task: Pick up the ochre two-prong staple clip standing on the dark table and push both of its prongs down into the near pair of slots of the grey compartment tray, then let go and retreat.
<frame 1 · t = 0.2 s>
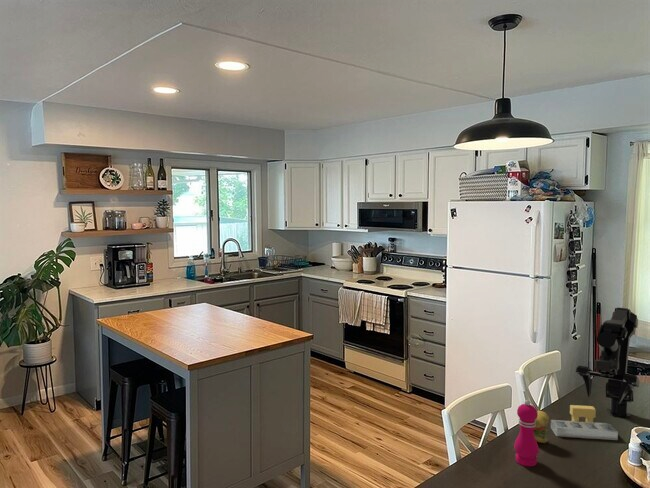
hand: (603, 400, 170), 14 cm above the table, tool tilted 30°, fingers open, 9 cm apart
grey compartment tray: (583, 433, 176), on the table
pepper mill: (526, 462, 157), on the table
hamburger: (536, 442, 170), on the table
clip: (582, 422, 186), on the table
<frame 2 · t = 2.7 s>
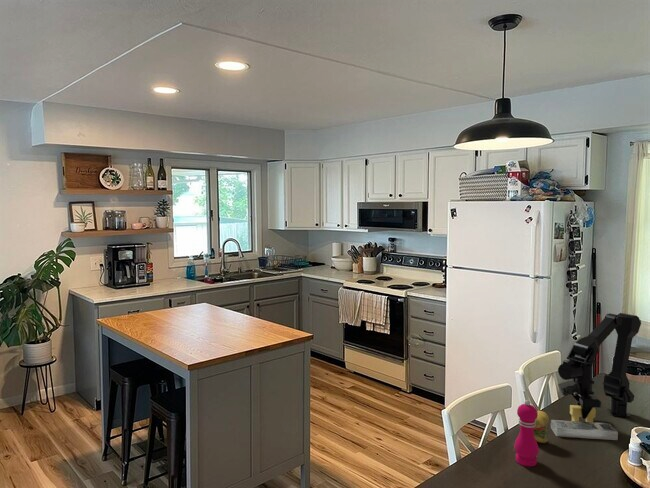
hand: (582, 416, 186), 2 cm above the table, tool pointing down, fingers closed on clip, 3 cm apart
clip: (582, 422, 186), on the table, touching gripper
everything else where it was.
when the fingers open (4 cm above the table, at t = 5.7 s): clip drops 1 cm, resting on grey compartment tray.
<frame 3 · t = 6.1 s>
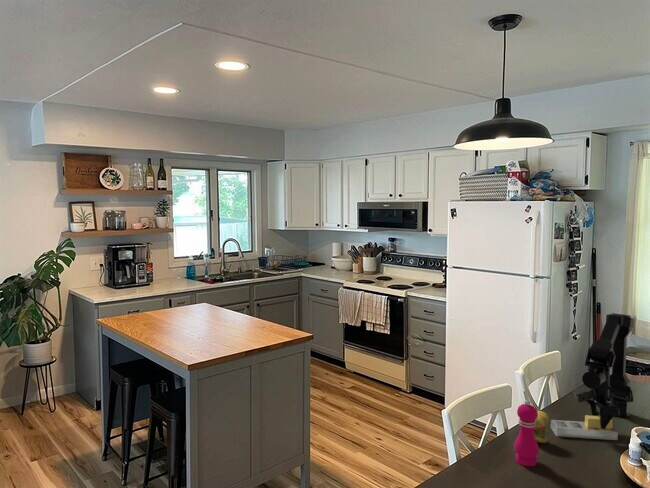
hand: (598, 424, 175), 4 cm above the table, tool pointing down, fingers open, 7 cm apart
clip: (598, 434, 176), resting on grey compartment tray
everything else where it was.
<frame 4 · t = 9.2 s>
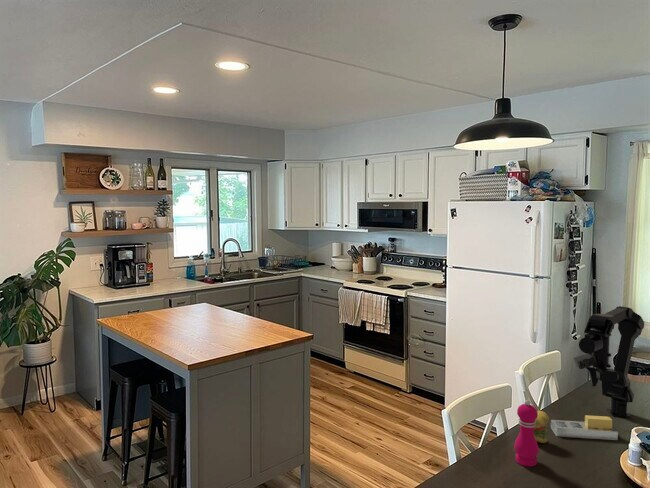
hand: (598, 390, 183), 13 cm above the table, tool pointing down, fingers open, 9 cm apart
nothing on the table moved.
at the end: clip 0.1 cm from the target spot on the grey compartment tray, point 0.2 cm above the grey compartment tray's base; clip tilted 0°; the gripper is holding nothing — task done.
